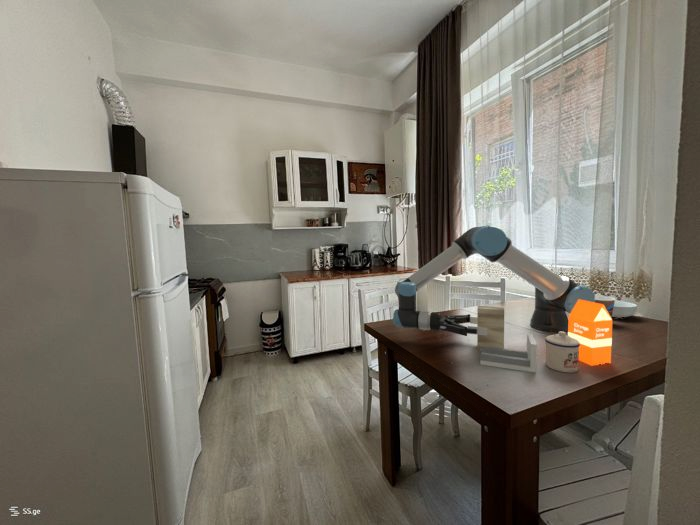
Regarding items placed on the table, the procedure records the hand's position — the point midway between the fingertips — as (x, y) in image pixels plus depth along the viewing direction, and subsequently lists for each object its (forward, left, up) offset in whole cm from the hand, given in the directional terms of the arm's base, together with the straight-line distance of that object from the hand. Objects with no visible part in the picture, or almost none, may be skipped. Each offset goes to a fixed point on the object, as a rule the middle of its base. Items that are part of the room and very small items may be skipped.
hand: (487, 326), depth 111 cm
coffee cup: (-68, -22, -9) cm, 72 cm away
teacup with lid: (-16, +18, -9) cm, 26 cm away
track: (0, +12, -9) cm, 15 cm away
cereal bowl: (-83, -30, -9) cm, 89 cm away
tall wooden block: (-1, 0, -9) cm, 9 cm away
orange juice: (-28, +14, -9) cm, 33 cm away
